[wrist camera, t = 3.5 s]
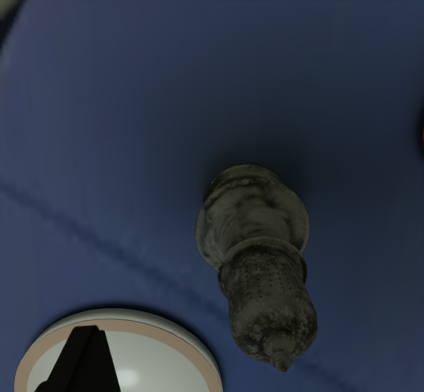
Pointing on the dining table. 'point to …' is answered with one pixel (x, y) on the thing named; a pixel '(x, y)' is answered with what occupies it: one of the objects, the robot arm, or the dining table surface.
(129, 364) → the dish
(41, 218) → the dining table surface
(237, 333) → the salt shaker
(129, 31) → the dining table surface
